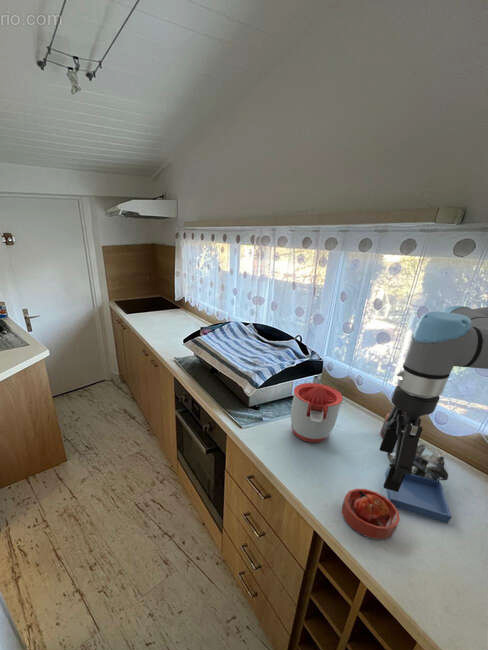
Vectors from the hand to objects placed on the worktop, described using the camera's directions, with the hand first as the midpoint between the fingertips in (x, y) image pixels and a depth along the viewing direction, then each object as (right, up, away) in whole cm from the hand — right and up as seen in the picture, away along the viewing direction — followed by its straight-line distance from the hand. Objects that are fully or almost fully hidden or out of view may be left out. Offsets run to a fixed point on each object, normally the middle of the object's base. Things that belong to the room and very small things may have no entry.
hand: (387, 468), depth 72 cm
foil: (+23, -6, +24) cm, 34 cm away
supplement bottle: (+25, +1, +38) cm, 46 cm away
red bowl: (0, -15, +8) cm, 17 cm away
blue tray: (+17, -12, +14) cm, 25 cm away
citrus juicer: (-3, +1, +39) cm, 40 cm away
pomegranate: (0, -15, +7) cm, 17 cm away
